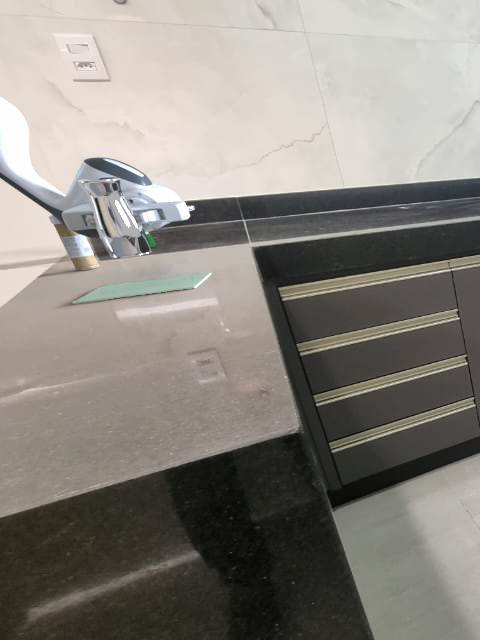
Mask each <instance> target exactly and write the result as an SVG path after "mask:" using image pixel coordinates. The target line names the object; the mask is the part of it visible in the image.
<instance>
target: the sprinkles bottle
mask: <svg viewBox="0 0 480 640" xmlns="http://www.w3.org/2000/svg"><path fill="white" fill-rule="evenodd" d="M48 219H49V221H50V222H51V224H52V225H53V227H54V228H55V231H56V233H57V235H58V237H59V239H60V241H61V243H62V245H63V247H64V249H65V251H66V253H67V255H68V257H69V258H70V260H71V262H72V264H73V266H74V269H75V271H88V270H94V269H98V268H99V267H100V263H98V261H97V259H96V257H95V255H94V251H93V249H92V248H91V245H90V243H89V241H88V239H87V237H86V236H83V235H81V234H78V233H76V232H74V231H72V230H70V229H68V228H67V227H66V226H64V225H63V224H62V223H61V222H60V221H59V220H58V219H56V218H55V217H54V216H53V215H52V214H51V215H49V216H48Z"/></svg>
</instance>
